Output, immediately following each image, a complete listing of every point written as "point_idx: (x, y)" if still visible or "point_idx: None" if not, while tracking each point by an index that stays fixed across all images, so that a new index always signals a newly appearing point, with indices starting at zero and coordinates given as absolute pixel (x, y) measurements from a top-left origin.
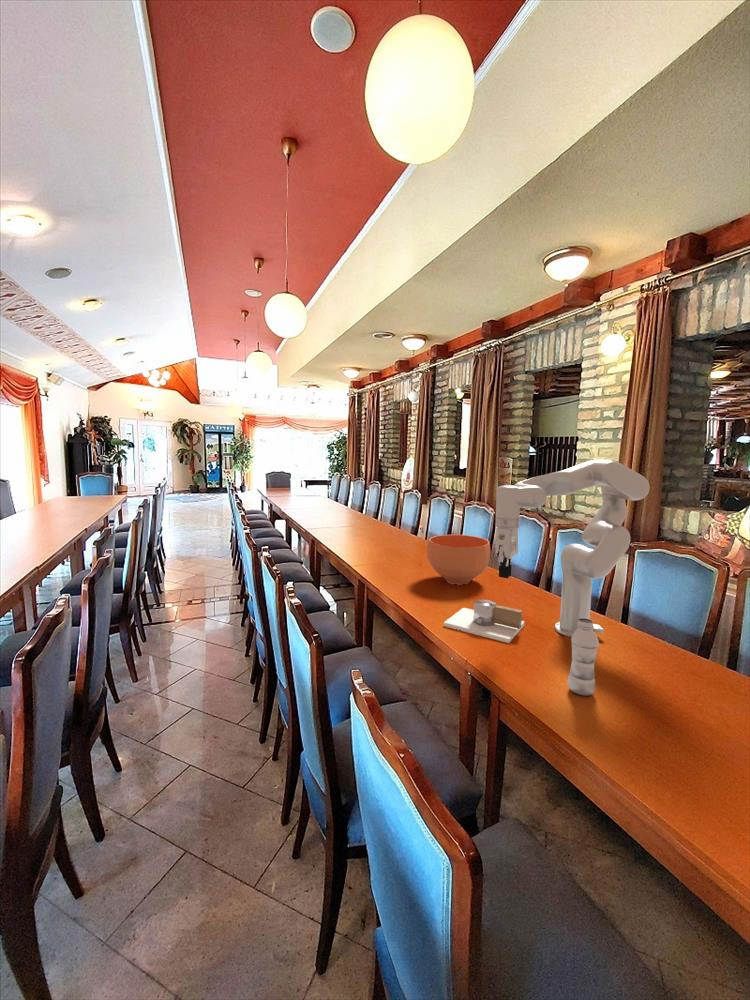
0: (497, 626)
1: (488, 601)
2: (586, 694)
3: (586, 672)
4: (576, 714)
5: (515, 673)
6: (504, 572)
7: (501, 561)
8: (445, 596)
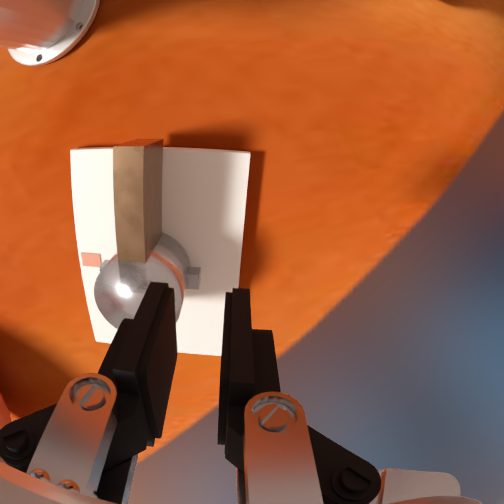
0: (164, 217)
1: (105, 296)
2: None
3: None
4: (497, 11)
5: (428, 109)
6: (273, 357)
7: (452, 478)
8: (56, 383)
